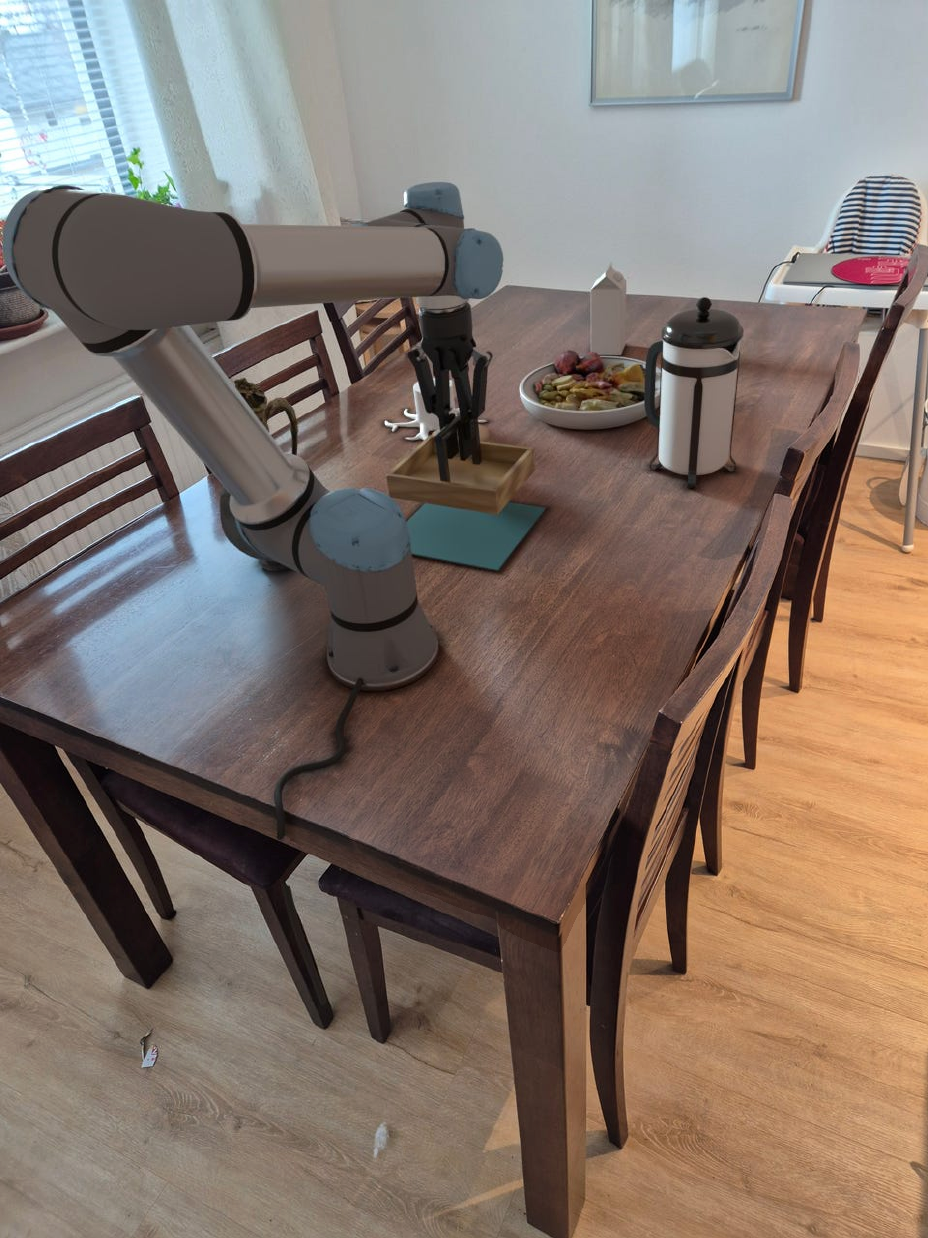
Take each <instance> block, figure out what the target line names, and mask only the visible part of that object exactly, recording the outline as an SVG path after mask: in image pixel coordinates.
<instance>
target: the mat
mask: <svg viewBox="0 0 928 1238" xmlns="http://www.w3.org/2000/svg"><path fill="white" fill-rule="evenodd" d="M546 508H547V507H543V506H537V505H531V504H526V503H525V504H524V503H517V502H512V501H509V502H508V503H507V504H506V505H505V506H504V508H503V509H502V510H501V511H500V512H499V514H498V515H495V514H489V513H483V512H477V511H471V510H464V509H458V508H452V507H446V506H440V505H433V504H427V503H423V504H422V505H421V507H420V508H418V510H417V511H416V512H415V513H414V514H412V516H410V518H409V519H408V520H407V521H406V525H407V528H408V530H409V534H410V546H411V554H412V556H415V557H420V558H426V559H430V560H436V561H441V562H447V563H451V564H457V565H462V566H467V567H471V568H477V569H483V570H488V571H494V572H499V571H500V569H501V568H502V567H503V565H504V564H505V563H506V562H507V561H508V559H509V557H510V556H511V555H512V554H513V553H514V551H515V549H517V548H518V547H519V544H520V543H521V542H522V541H523V540H524V538H525V537H526V536H527V534H528V533H529V532H530V530H531V529H532V528H533V526H534V525H535V524H536V523H537V521H538V520H539V519H540V517H541V516H542V514H544V512H545V511H546V510H547V509H546Z"/></svg>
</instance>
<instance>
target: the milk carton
mask: <svg viewBox="0 0 928 1238" xmlns="http://www.w3.org/2000/svg"><path fill="white" fill-rule="evenodd" d="M612 266H613V265H612V261H611V262H609V265H608V266H607V268H606V270H605V271H604V273H603V274H602V275H601V276H599V277H598V278H597V279H596V280H595V281H594V283H593V285H592V287H591V288H590V291H589V292H590V294H589V295H590V302H589V303H590V304H589V305H590V352H595V353H597V354H598V355H599V356H622V354H623V351H624V349H625V346H626V327H627V325H626V323H627V322H626V321H627V279H626V278H624V275H623V273H621V272H620V271H618V270H615V269H614V268H613V267H612Z"/></svg>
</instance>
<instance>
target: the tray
mask: <svg viewBox="0 0 928 1238" xmlns="http://www.w3.org/2000/svg"><path fill="white" fill-rule="evenodd" d="M460 418H461V417H460V412H459V413H458V414H457V416H456V417H455V418H454V419H453V420H452V421H450V422H449V423H448V424H447V425H446V426H445V427H444V428H443V429H442V430H441V431H440V432H438V433H437V434H436V435H432V434H430V435H428V436H429V437H428V438H427V439H425V440H422V441H421V443H419V445H417V446H416V447H415V448H414V449H413V450H412V451H411V452H410V453H409V454H408V455H407V456H405V457H404V458H403V459H402V460H401V461H400V462H399V463H398V464H397V465H395V466H394V467H393V468H392V469H391V470H390V471H389V472H388V473H387V474H385V477H386V484H387V489H388V496H389V497H391V498H392V499H398V500H403V501H409V502H414V503H422V504H425V503H427V504H433V505H440V506H446V507H452V508H458V509H464V510H471V511H477V512H483V513H489V514H495V515H498V514H499V512H500V511H501V510H502V509H503V508H504V506H505V505H506V504H507V503H508V502H511V500H512V499H513V497H514V496H515V495H516V493H517V492H519V490H520V489H521V488H522V487H523V485H524V484H525V483H526V482H527V481H528V480H529V479H530V477H531V476H532V475H533V473H535V471H536V459H535V447H531V446H524V445H513V444H508V443H507V444H505V443H498V442H491V441H490V442H483V441H480V436H479V425H478V424H479V423H478V420H479V417H478V418H477V419H474V428H475V435H474V437H473V438H472V439H471V444H472V454H471V455H470V456H469V457H468V458H467V459H466V460H465V461H461V459H460V450H459V453H458V454H457V455H456V456H455V457H454V458H453V459H448V455H447V447H446V440H447V439H448V438H449V437H450V436H451V435H452V434H453V433H454V432H455V431H456V430H457V421H458V420H459V419H460ZM458 444H459V440H458Z"/></svg>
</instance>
